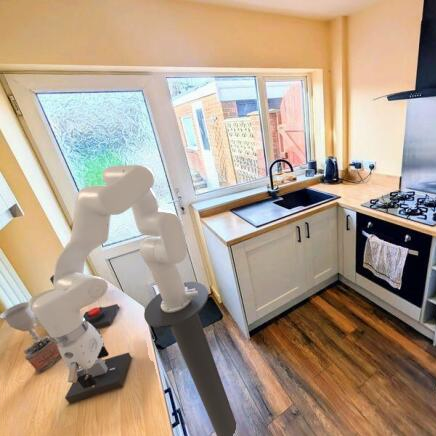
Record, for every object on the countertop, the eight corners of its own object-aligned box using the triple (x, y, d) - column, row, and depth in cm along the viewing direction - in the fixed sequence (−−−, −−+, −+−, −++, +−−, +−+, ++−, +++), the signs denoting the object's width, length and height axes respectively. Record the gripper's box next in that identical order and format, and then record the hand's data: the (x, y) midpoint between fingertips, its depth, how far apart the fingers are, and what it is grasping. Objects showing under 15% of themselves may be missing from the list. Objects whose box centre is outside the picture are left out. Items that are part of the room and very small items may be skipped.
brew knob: (108, 368, 77) (101, 357, 75) (106, 373, 76) (99, 362, 74) (92, 373, 76) (84, 362, 74) (89, 378, 75) (81, 367, 73)
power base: (119, 307, 107) (115, 300, 105) (110, 325, 98) (106, 317, 97) (88, 315, 104) (83, 308, 103) (76, 334, 96) (71, 326, 94)
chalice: (32, 357, 88) (2, 320, 80) (26, 349, 91) (-3, 313, 84) (57, 341, 93) (31, 305, 86) (51, 334, 97) (25, 299, 89)
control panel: (132, 358, 83) (128, 351, 82) (122, 387, 75) (118, 380, 73) (85, 372, 80) (80, 366, 79) (69, 404, 72) (64, 397, 70)
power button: (102, 309, 102) (100, 306, 101) (98, 315, 99) (96, 312, 98) (92, 311, 101) (90, 308, 100) (88, 318, 98) (86, 315, 97)
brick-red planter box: (61, 350, 89) (47, 331, 85) (67, 353, 88) (53, 333, 84) (34, 371, 82) (17, 351, 78) (40, 374, 81) (23, 354, 77)
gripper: (70, 353, 62) (99, 394, 69) (98, 305, 77) (119, 343, 84) (35, 363, 60) (68, 404, 67) (71, 312, 75) (95, 350, 82)
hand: (97, 370), depth 76 cm, fingers open, 9 cm apart
